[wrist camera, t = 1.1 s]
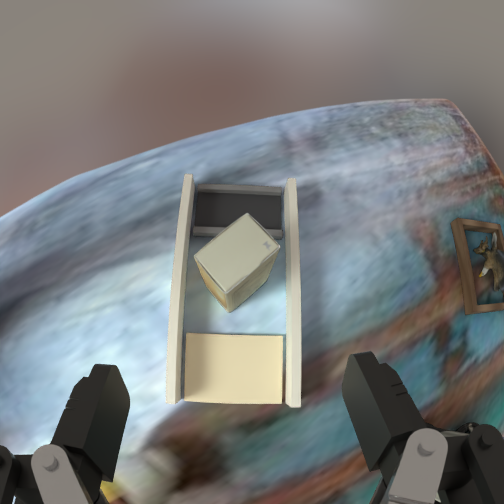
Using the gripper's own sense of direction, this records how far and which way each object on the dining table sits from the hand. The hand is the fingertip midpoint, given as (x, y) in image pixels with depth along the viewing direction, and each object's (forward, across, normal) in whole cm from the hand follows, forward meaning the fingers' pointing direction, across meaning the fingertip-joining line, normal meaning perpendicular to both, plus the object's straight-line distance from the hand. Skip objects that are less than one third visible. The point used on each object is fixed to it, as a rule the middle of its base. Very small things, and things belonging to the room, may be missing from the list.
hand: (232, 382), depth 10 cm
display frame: (+25, -40, +11) cm, 49 cm away
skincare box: (+25, 0, +10) cm, 27 cm away
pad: (+18, +1, +18) cm, 25 cm away
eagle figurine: (+25, -41, +12) cm, 50 cm away
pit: (+31, -1, +3) cm, 31 cm away
